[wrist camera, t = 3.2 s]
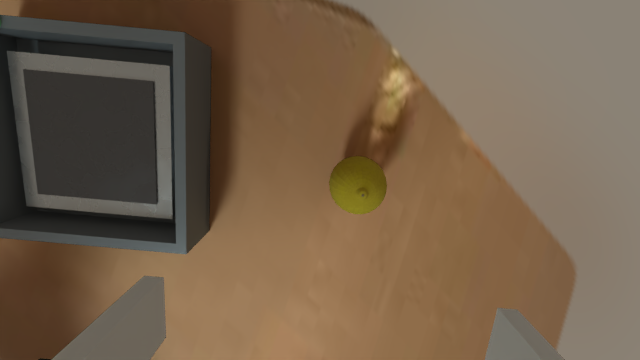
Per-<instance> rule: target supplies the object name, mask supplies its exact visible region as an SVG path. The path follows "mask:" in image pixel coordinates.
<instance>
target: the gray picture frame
mask: <svg viewBox="0 0 640 360" xmlns="http://www.w3.org/2000/svg"><path fill="white" fill-rule="evenodd" d="M7 58H8V66H9V73H10V81H11V89H12V97H13V105H14V112H15V120H16V128H17V136H18V144H19V151H20V159H21V167H22V175H23V183H24V190H25V198H26V206H30V207H41V208H53V209H64V210H75V211H86V212H98V213H109V214H120V215H132V216H143V217H154V218H165V219H173V218H175V217H176V214H175V151H174V88H173V67H172V66H167V65H156V64H145V63H134V62H123V61H113V60H102V59H91V58H80V57H69V56H59V55H48V54H37V53H26V52H15V51H7Z"/></svg>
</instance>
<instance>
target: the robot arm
mask: <svg viewBox="0 0 640 360" xmlns="http://www.w3.org/2000/svg"><path fill="white" fill-rule="evenodd" d="M165 338H166V325H165V299H164V278H163V277H152V276H144V277H142V278H141V279H140V280H139V281H138V282H137V283H136V284H135V285H134V286H132V287H131V288H130V289H129V290H128V291H127V292H126V293H125V294H124V295H122V296H121V297H120V298H119V299H118V300H117V301H116V302H115V303H114V304H112V305H111V306H110V307H109V308H108V309H107V310H106V311H105V312H104V313H102V314H101V315H100V316H99V317H98V318H97V319H96V320H95V321H94V322H92V323H91V324H90V325H89V326H88V327H87V328H86V329H85V330H84V331H82V332H81V333H80V334H79V335H78V336H77V337H76V338H75V339H74V340H73V341H71V342H70V343H69V344H68V345H67V346H66V347H65V348H64V349H63V350H61V351H60V352H59V353H58V354H57V355H56V356H55V357H54V358H53V359H41V358H40V359H38V360H150V359H151V357H152V356H153V355H154V353H155V352H156V350H157V349H158V348H159V346H160V345H161V343H162V342H163V341H164V339H165ZM485 360H564V359H563V357H562V356H561V355H560V354H559V353H558V352H557V351H556V350H555V349H554V348H553V347H552V346H551V345H550V344H549V343H548V342H547V341H546V340H545V338H544V337H543V336H542V335H541V334H540V333H539V332H538V331H537V330H536V329H535V328H534V327H533V326H532V325H531V324H530V323H529V322H528V320H527V319H526V318H525V317H524V316H523V315H522V314H521V313H520V312H519V311H518V310H514V309H503V308H498V309H497V313H496V317H495V321H494V325H493V329H492V333H491V337H490V341H489V345H488V349H487V353H486V357H485Z"/></svg>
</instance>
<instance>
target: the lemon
mask: <svg viewBox="0 0 640 360" xmlns="http://www.w3.org/2000/svg"><path fill="white" fill-rule="evenodd" d="M329 186H330V192H331V195H332V198H333V199H334V201H335V202H336V204H337V205H338V206H340V207H341V208H342V209H343V210H345V211H347V212H349V213H353V214H365V213H369V212H371V211H373V210H374V209H376V208H377V207H378V206H379V205H380V204H381V202H382V201H383V199H384V197H385V194H386V188H387V184H386V177H385V175H384V173H383V170H382V169H381V168H380V167H379V165H378V164H377V163H375V162H374V161H373V160H371V159H369V158H366V157H362V156H353V157H349V158H346V159H344V160H342V161H341V162H339V163H338V164H337V165H336V167H335V168H334V169H333V171H332V173H331V176H330V181H329Z"/></svg>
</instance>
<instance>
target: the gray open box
mask: <svg viewBox="0 0 640 360" xmlns="http://www.w3.org/2000/svg"><path fill="white" fill-rule="evenodd" d="M7 51H15V52H26V53H37V54H48V55H59V56H69V57H80V58H91V59H102V60H113V61H123V62H134V63H145V64H156V65H167V66H172V67H173V88H174V151H175V214H176V217H175V218H173V219H165V218H154V217H143V216H132V215H120V214H109V213H98V212H86V211H75V210H64V209H53V208H41V207H30V206H26V198H25V190H24V183H23V175H22V167H21V159H20V151H19V144H18V136H17V128H16V120H15V112H14V105H13V97H12V89H11V81H10V73H9V66H8V58H7ZM210 114H211V47H209V46H207V45H206V44H204V43H202V42H201V41H199V40H197V39H195V38H194V37H192V36H190V35H189V34H187V33H185V32H177V31H166V30H155V29H145V28H134V27H123V26H113V25H102V24H91V23H81V22H70V21H59V20H48V19H38V18H27V17H16V16H6V15H0V238H7V239H19V240H30V241H42V242H53V243H64V244H76V245H87V246H98V247H110V248H121V249H133V250H144V251H155V252H167V253H178V254H187V253H188V252H189V251H190V250H191V249H192V248H193V247H194V246H195V245H196V244H197V243H198V242H199V241H200V240H201V239H202V238H203V237H204V236H205V235H206V234H207V233H208V232H209V213H210Z"/></svg>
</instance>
